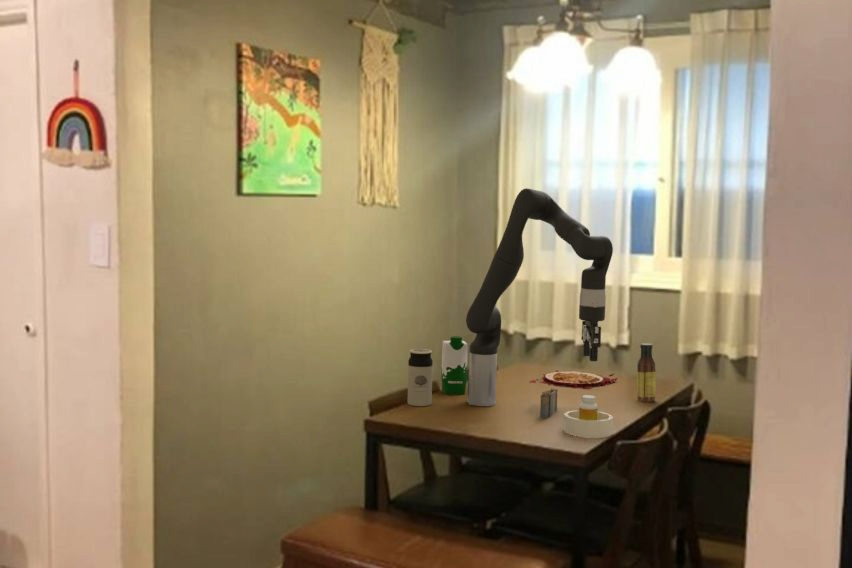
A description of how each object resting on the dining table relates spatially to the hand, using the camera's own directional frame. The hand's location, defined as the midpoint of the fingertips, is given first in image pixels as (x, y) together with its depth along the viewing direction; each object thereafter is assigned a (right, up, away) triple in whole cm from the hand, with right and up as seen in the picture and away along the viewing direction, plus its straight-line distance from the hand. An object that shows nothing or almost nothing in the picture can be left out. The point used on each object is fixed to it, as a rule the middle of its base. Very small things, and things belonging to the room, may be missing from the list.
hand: (590, 358), depth 275 cm
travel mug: (-51, -18, +34) cm, 64 cm away
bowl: (0, -22, +2) cm, 22 cm away
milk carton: (-39, -17, +55) cm, 69 cm away
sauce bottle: (+28, -19, +48) cm, 59 cm away
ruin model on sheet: (-9, -21, +24) cm, 33 cm away
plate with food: (+8, -16, +79) cm, 81 cm away
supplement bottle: (0, -21, +2) cm, 21 cm away
